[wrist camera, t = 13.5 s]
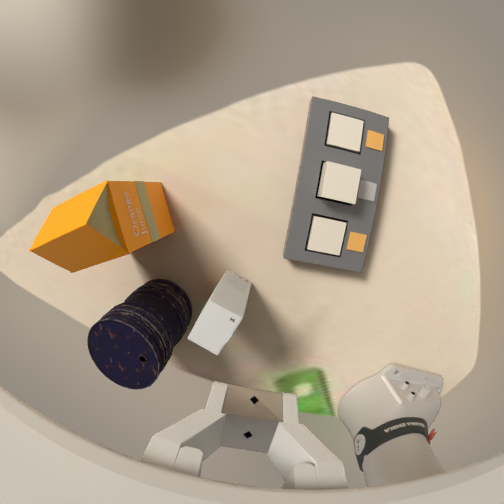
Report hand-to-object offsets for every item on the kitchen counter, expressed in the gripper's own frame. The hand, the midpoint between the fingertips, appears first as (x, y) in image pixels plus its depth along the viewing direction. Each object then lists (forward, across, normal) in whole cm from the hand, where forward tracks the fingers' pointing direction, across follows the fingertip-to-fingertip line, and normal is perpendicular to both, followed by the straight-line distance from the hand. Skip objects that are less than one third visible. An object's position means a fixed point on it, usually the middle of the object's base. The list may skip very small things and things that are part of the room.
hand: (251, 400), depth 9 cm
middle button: (+29, +8, +10) cm, 31 cm away
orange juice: (+31, -19, +1) cm, 37 cm away
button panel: (+31, +8, +10) cm, 34 cm away
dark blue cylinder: (+31, -14, -13) cm, 37 cm away
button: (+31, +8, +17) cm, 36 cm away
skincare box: (+31, -4, -8) cm, 33 cm away
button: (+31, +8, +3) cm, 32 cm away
